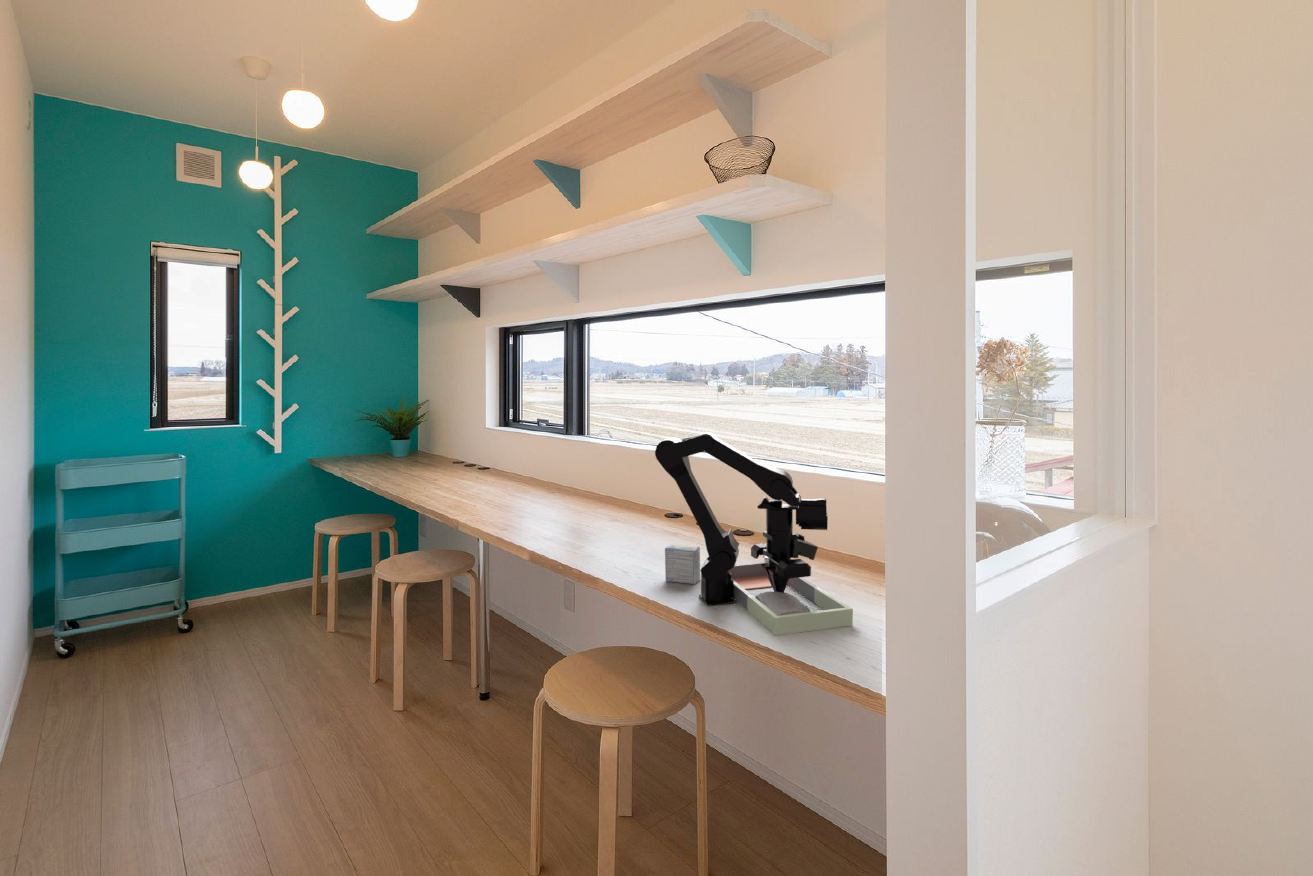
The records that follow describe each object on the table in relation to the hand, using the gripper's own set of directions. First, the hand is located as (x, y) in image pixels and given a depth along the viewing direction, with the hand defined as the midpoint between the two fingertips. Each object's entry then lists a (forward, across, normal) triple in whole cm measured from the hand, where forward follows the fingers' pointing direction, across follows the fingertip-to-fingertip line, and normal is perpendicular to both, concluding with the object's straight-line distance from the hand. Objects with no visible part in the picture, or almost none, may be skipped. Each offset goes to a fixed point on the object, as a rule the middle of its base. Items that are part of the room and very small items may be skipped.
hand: (779, 597), depth 146 cm
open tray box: (+2, +2, 0) cm, 2 cm away
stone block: (+2, -7, +2) cm, 8 cm away
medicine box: (+2, +22, +16) cm, 27 cm away
